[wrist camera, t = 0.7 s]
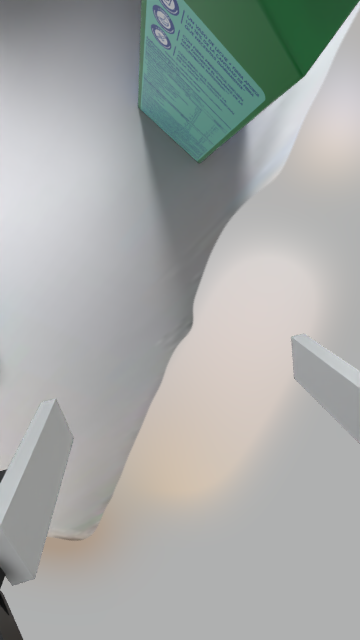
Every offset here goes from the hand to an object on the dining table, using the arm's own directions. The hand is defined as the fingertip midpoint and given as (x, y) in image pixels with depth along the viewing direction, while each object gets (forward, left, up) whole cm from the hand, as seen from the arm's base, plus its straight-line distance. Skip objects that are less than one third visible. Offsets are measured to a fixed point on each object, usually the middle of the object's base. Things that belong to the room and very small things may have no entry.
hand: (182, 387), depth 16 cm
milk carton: (-20, +9, -25) cm, 33 cm away
